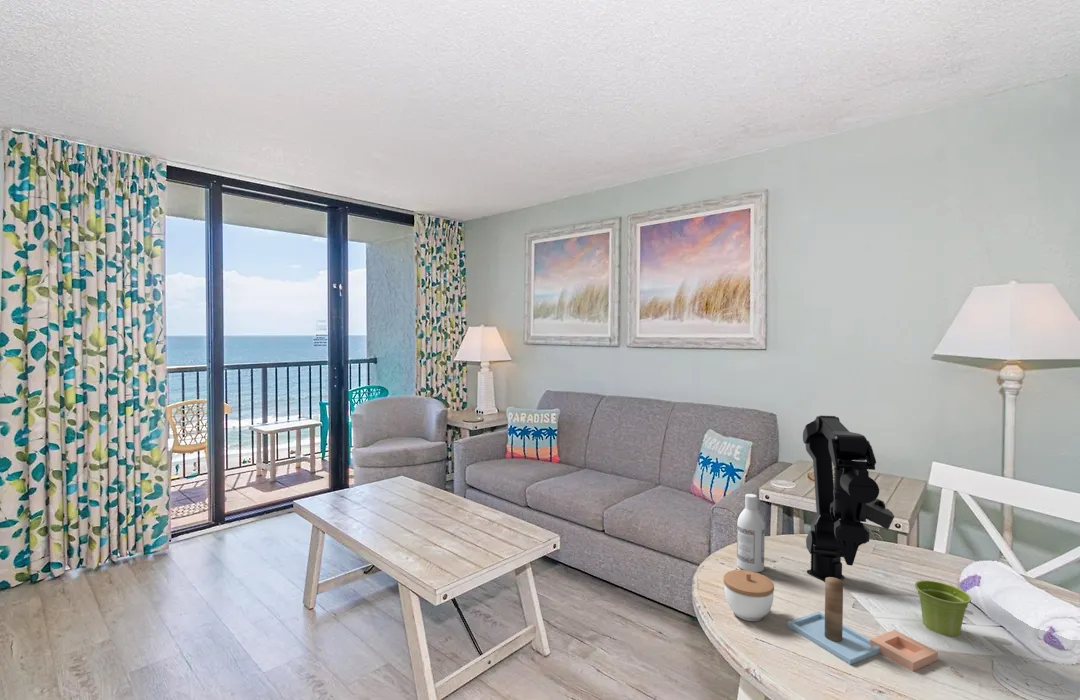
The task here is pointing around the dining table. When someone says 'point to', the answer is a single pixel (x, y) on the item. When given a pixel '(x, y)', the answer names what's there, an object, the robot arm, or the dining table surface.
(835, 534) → the robot arm
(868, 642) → the tray
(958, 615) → the plant pot
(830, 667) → the dining table surface
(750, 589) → the lidded jar
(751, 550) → the bath foam
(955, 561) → the dining table surface
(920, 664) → the holder
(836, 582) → the peg
